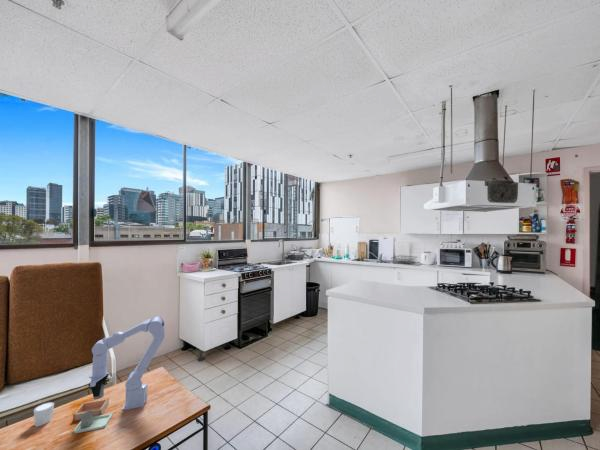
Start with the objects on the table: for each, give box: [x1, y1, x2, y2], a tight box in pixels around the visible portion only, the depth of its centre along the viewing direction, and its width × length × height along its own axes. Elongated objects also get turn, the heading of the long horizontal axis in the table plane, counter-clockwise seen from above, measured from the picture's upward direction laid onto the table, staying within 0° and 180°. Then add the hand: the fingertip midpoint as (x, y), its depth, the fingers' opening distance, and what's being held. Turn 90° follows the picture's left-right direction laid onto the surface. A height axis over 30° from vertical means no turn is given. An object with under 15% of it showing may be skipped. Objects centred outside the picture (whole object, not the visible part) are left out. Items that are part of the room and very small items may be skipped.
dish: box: [72, 398, 110, 422], centre depth 124 cm, size 11×9×3 cm
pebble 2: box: [93, 384, 105, 400], centre depth 125 cm, size 4×4×5 cm
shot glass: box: [33, 401, 55, 427], centre depth 118 cm, size 7×7×7 cm
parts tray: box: [72, 412, 114, 435], centre depth 116 cm, size 12×9×1 cm
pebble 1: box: [80, 411, 93, 428], centre depth 115 cm, size 4×4×5 cm
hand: (98, 393), depth 125 cm, fingers closed on pebble 2, 4 cm apart
